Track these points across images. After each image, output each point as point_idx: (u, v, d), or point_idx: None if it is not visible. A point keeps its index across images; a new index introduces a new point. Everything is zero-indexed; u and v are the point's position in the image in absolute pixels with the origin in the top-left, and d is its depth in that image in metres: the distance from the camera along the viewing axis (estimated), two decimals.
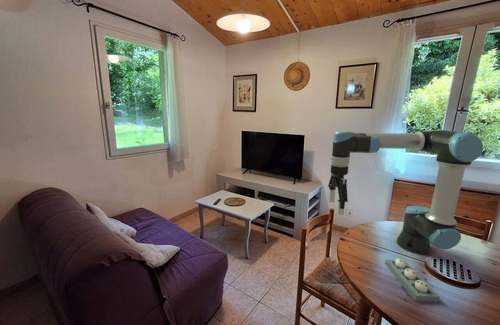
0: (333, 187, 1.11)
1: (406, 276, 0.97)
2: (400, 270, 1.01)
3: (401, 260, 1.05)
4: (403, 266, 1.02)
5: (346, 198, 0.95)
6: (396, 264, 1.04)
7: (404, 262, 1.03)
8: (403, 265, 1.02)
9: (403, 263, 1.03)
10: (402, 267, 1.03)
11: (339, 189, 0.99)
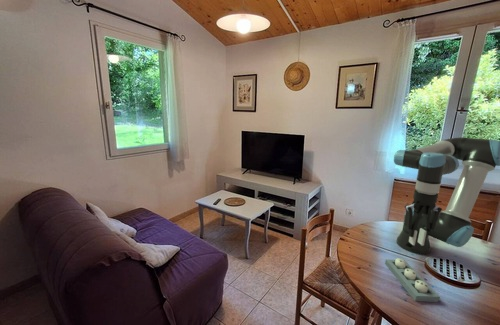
0: (424, 224, 0.92)
1: (406, 276, 0.97)
2: (400, 270, 1.01)
3: (401, 260, 1.05)
4: (403, 266, 1.02)
5: (408, 225, 0.92)
6: (396, 264, 1.04)
7: (404, 262, 1.03)
8: (403, 265, 1.02)
9: (403, 263, 1.03)
10: (402, 267, 1.03)
11: (413, 216, 0.92)
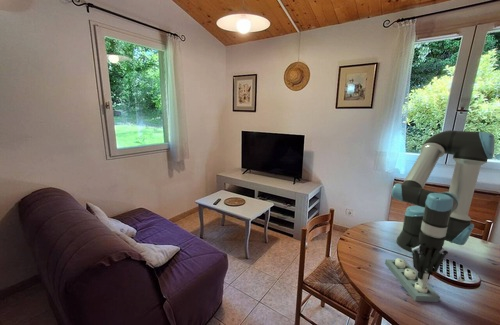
0: (427, 266, 0.88)
1: (406, 276, 0.97)
2: (400, 270, 1.01)
3: (401, 260, 1.05)
4: (403, 266, 1.02)
5: (416, 268, 0.88)
6: (396, 264, 1.04)
7: (404, 262, 1.03)
8: (403, 265, 1.02)
9: (403, 263, 1.03)
10: (402, 267, 1.03)
11: (420, 258, 0.89)
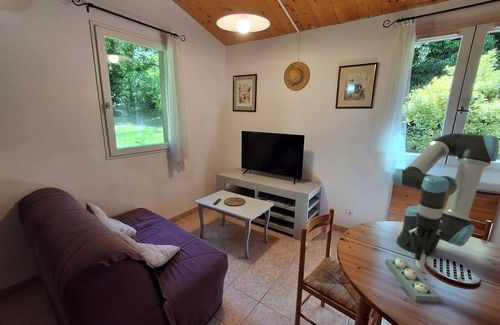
0: (424, 247, 0.91)
1: (406, 276, 0.97)
2: (400, 270, 1.01)
3: (401, 260, 1.05)
4: (403, 266, 1.02)
5: (414, 249, 0.91)
6: (396, 264, 1.04)
7: (404, 262, 1.03)
8: (403, 265, 1.02)
9: (403, 263, 1.03)
10: (402, 267, 1.03)
11: (417, 239, 0.91)
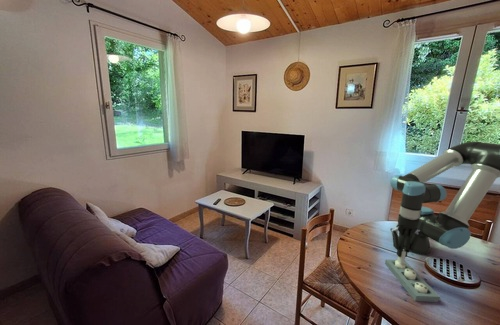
0: (405, 245, 1.02)
1: (406, 276, 0.97)
2: (400, 270, 1.01)
3: None
4: (403, 268, 1.03)
5: (395, 246, 1.02)
6: (396, 266, 1.04)
7: (404, 264, 1.04)
8: (403, 267, 1.03)
9: (403, 265, 1.03)
10: None
11: (399, 238, 1.02)
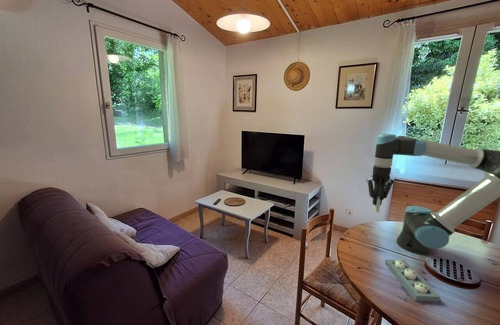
0: (379, 193, 1.11)
1: (406, 276, 0.97)
2: (400, 270, 1.01)
3: (401, 262, 1.05)
4: (403, 268, 1.03)
5: (371, 195, 1.11)
6: (396, 266, 1.04)
7: (404, 264, 1.04)
8: (403, 267, 1.03)
9: (403, 265, 1.03)
10: None
11: (374, 187, 1.12)
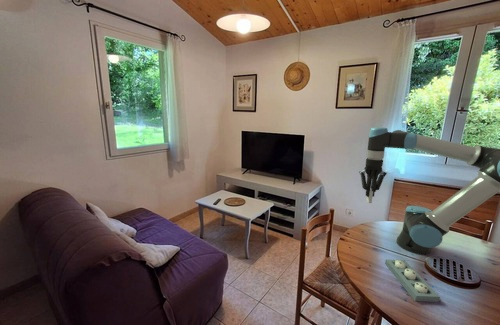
0: (372, 185, 1.15)
1: (406, 276, 0.97)
2: (400, 270, 1.01)
3: (401, 262, 1.05)
4: (403, 268, 1.03)
5: (364, 187, 1.15)
6: (396, 266, 1.04)
7: (404, 264, 1.04)
8: (403, 267, 1.03)
9: (403, 265, 1.03)
10: None
11: (367, 179, 1.15)
